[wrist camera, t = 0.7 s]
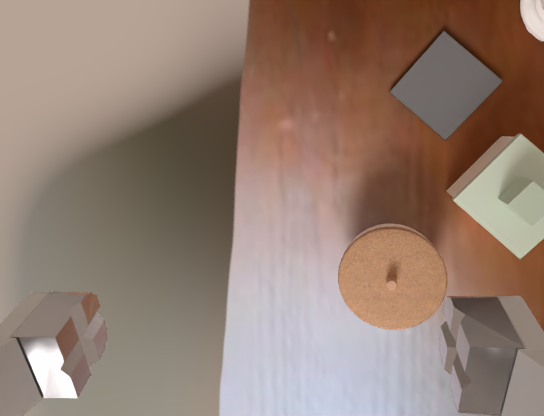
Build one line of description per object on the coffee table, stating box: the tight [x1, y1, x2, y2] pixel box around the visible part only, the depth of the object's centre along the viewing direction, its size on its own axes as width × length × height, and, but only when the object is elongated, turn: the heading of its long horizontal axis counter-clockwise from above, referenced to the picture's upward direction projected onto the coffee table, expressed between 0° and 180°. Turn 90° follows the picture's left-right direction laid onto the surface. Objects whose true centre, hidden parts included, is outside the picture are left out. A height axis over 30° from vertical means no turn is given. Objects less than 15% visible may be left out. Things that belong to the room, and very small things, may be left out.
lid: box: [452, 134, 544, 259], centre depth 41 cm, size 8×8×4 cm
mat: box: [390, 31, 502, 140], centre depth 49 cm, size 8×8×1 cm
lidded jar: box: [338, 223, 447, 330], centre depth 49 cm, size 11×11×9 cm
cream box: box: [446, 136, 514, 197], centre depth 46 cm, size 8×8×6 cm
